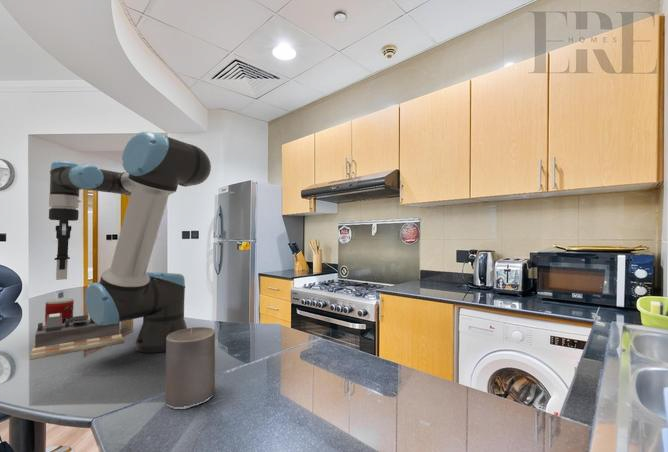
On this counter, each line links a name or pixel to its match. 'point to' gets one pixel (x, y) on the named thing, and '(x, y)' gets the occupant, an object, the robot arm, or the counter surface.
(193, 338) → the pillar candle
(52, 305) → the canned food
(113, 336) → the switch unit
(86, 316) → the rocker middle
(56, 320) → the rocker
